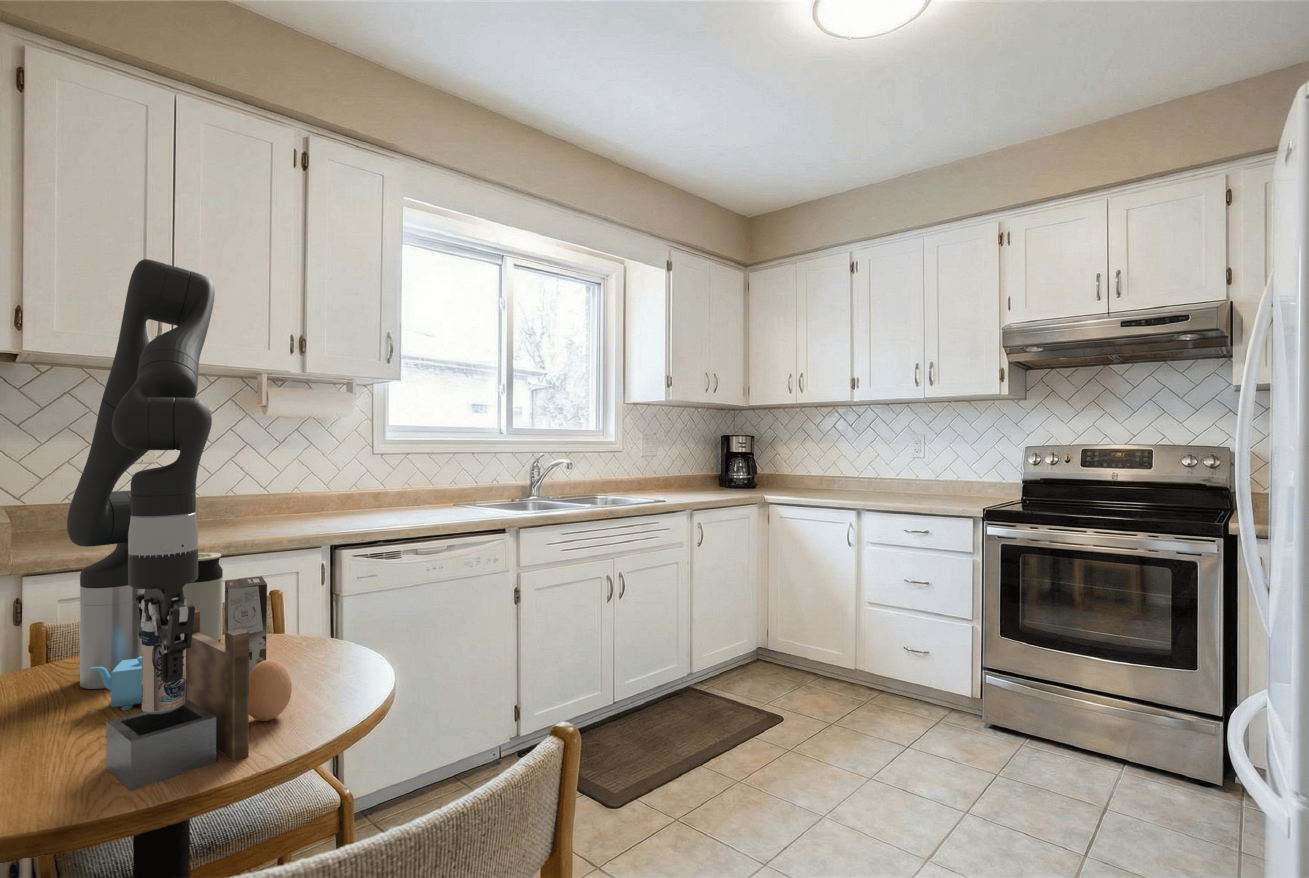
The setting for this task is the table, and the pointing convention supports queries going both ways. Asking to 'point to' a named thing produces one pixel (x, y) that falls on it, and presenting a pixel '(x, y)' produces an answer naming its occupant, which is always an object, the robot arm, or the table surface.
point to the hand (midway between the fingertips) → (164, 675)
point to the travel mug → (207, 594)
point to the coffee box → (248, 613)
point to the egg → (268, 690)
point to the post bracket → (160, 744)
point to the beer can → (159, 677)
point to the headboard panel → (221, 686)
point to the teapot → (124, 683)
